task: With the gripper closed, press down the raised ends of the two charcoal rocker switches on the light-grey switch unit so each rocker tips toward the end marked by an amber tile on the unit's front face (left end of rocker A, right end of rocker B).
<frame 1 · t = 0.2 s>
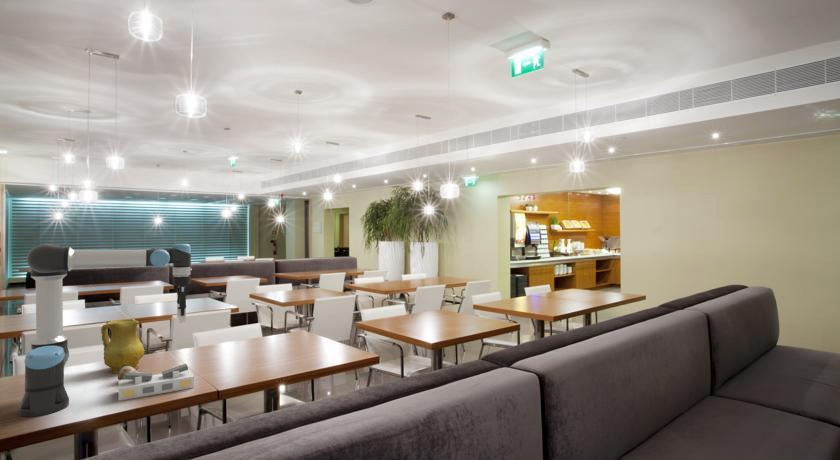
hand: (181, 319, 210), 28 cm above the table, fingers open, 13 cm apart
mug: (132, 381, 204), on the table
pitcher: (123, 369, 221), on the table
switch unit: (156, 389, 193), on the table
rocker a: (138, 376, 189), point 7 cm above the table, hinge at 12.0°
rocker b: (175, 370, 197), point 7 cm above the table, hinge at -12.0°
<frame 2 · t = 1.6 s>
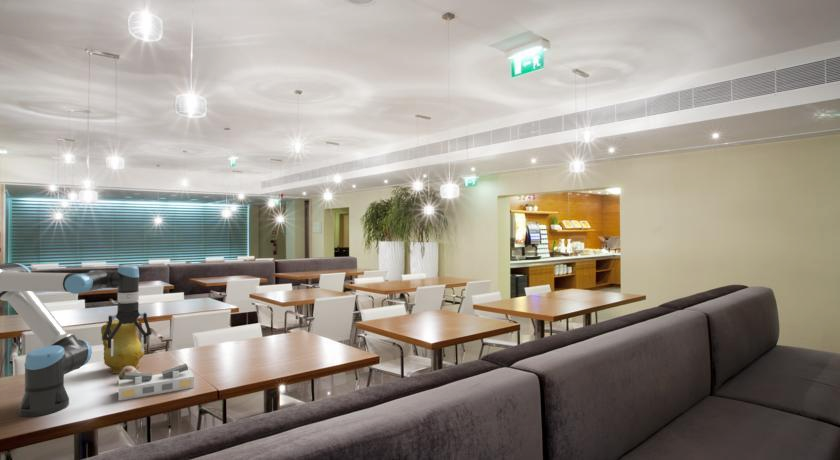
hand: (127, 353, 187), 18 cm above the table, fingers open, 10 cm apart
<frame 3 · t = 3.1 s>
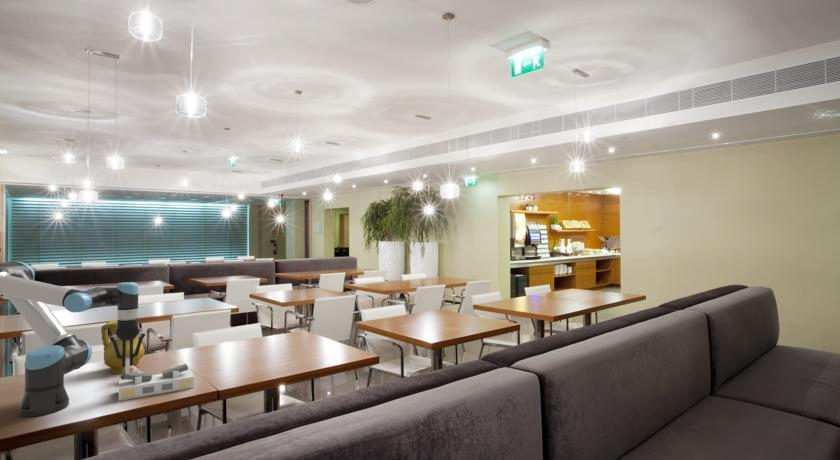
hand: (127, 373, 187), 9 cm above the table, fingers closed
rocker a: (138, 376, 189), point 7 cm above the table, hinge at 12.0°, touching gripper
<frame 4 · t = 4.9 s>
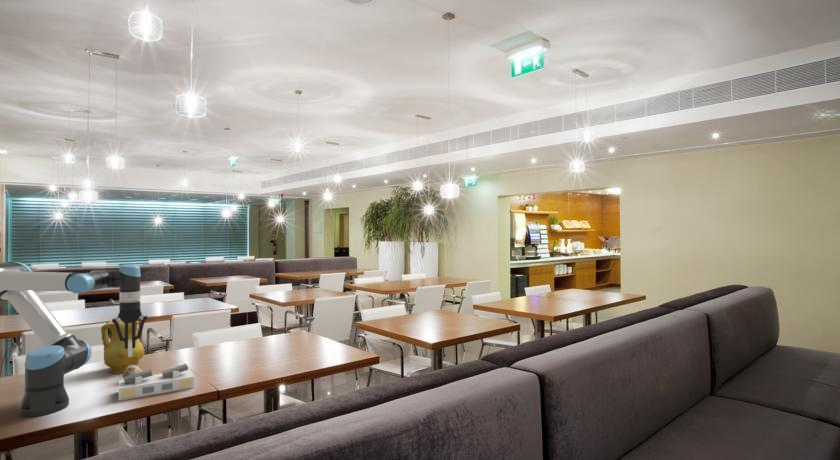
hand: (130, 355, 187), 17 cm above the table, fingers closed
rocker a: (138, 376, 189), point 7 cm above the table, hinge at -9.5°
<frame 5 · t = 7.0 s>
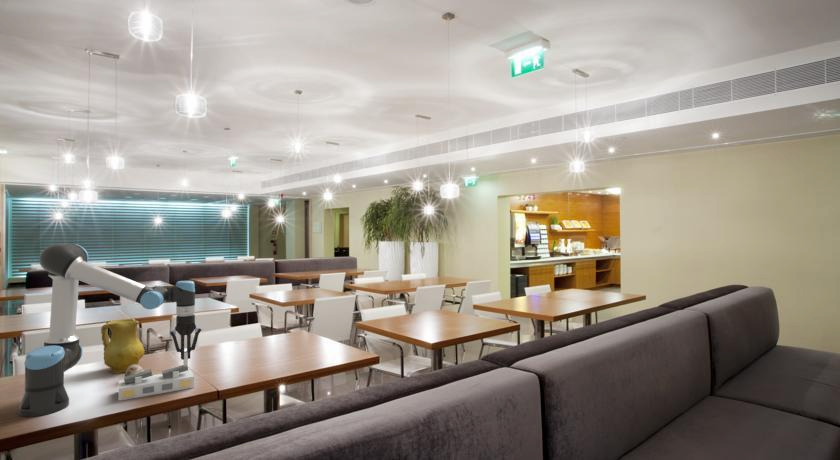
hand: (185, 366, 200), 9 cm above the table, fingers closed
rocker b: (175, 370, 197), point 7 cm above the table, hinge at -8.8°, touching gripper
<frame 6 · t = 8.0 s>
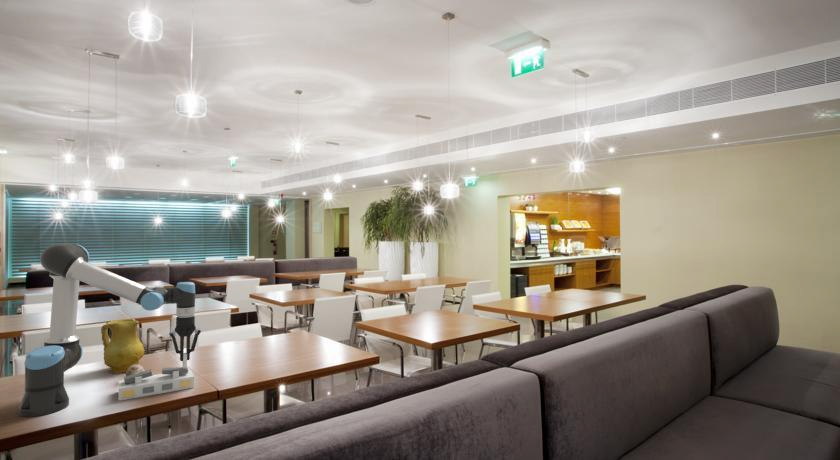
hand: (184, 367, 199), 8 cm above the table, fingers closed
rocker b: (175, 370, 197), point 7 cm above the table, hinge at 8.1°
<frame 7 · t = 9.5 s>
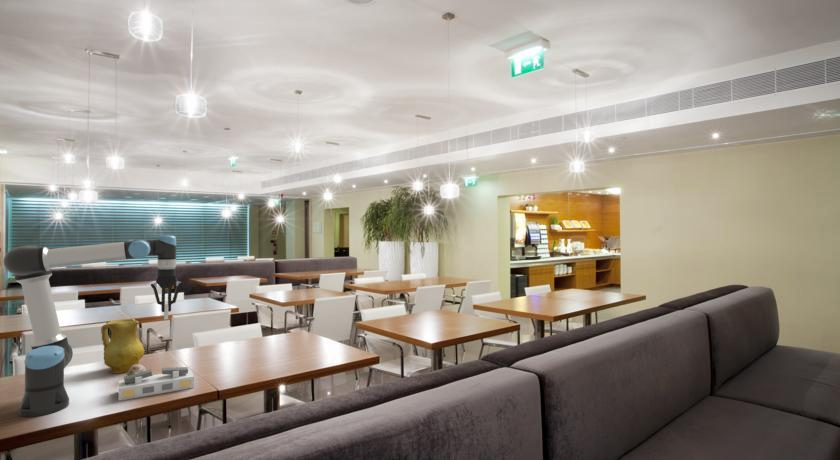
hand: (166, 318, 204), 29 cm above the table, fingers closed
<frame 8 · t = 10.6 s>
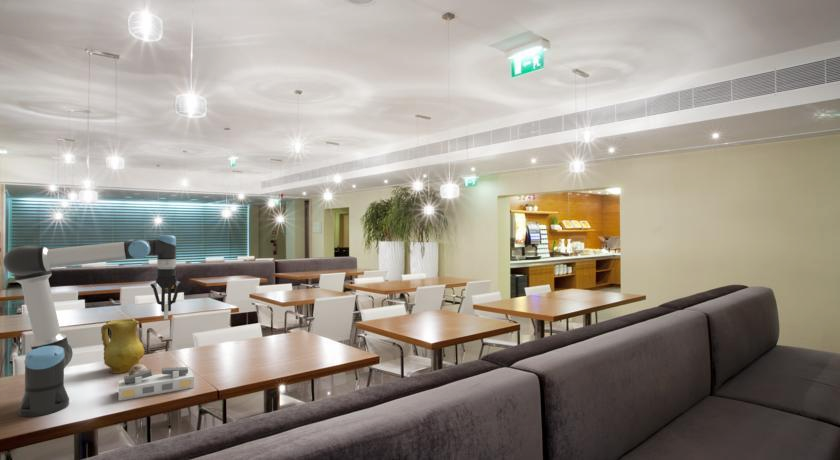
hand: (166, 318, 204), 29 cm above the table, fingers closed
at the end: rocker a at -10° (first picture: +12°); rocker b at +8° (first picture: -12°) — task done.
